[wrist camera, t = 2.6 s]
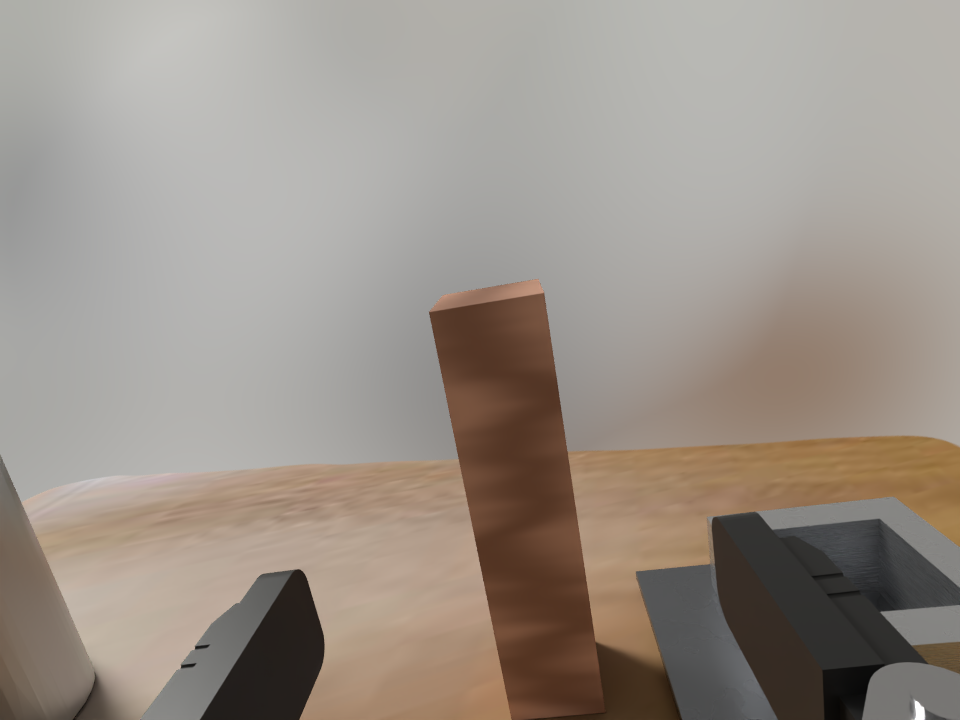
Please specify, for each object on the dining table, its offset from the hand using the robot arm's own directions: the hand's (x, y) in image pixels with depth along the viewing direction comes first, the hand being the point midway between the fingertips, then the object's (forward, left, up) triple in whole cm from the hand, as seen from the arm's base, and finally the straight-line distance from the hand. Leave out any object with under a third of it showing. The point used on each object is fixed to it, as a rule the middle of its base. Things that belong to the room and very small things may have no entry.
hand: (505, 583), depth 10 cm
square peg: (-10, +6, -14) cm, 18 cm away
